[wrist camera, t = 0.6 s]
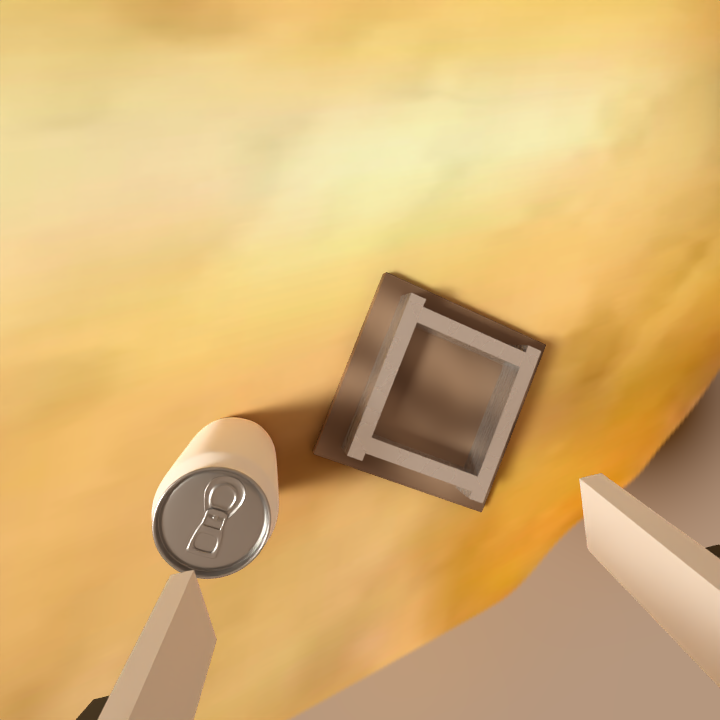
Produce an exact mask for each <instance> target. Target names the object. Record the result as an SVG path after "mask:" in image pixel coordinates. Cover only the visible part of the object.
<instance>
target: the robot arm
mask: <svg viewBox="0 0 720 720" xmlns="http://www.w3.org/2000/svg"><path fill="white" fill-rule="evenodd" d="M580 487H581V496H582V505H583V514H584V523H585V532H586V541H587V549H588V550H589V552H590V553H591V554H592V555H593V556H594V557H595V558H596V559H597V560H598V561H599V562H600V563H601V564H602V565H603V566H604V567H605V568H606V569H607V570H608V571H609V572H610V574H611V575H612V576H613V577H614V578H615V579H616V580H617V581H618V582H619V583H620V584H621V585H622V586H623V587H624V588H625V589H626V590H627V591H628V592H629V593H630V594H631V595H632V596H633V598H634V599H635V600H637V602H638V603H639V604H640V605H641V606H642V607H643V608H644V609H645V610H646V611H647V612H648V613H649V614H650V615H651V616H652V617H653V619H655V621H656V622H657V623H658V624H659V625H660V626H661V627H662V628H663V629H664V630H665V631H666V632H667V633H668V634H669V635H670V636H671V637H672V638H673V639H674V640H675V641H676V643H677V644H679V646H680V647H681V648H682V649H683V650H684V651H685V652H686V653H687V654H688V655H689V656H690V657H691V658H692V659H693V660H694V662H696V663H697V665H698V666H699V667H700V668H701V669H702V670H703V671H704V672H705V673H706V674H707V675H708V676H709V677H710V678H711V679H712V680H713V681H714V682H715V683H716V685H717V686H719V688H720V545H715V546H711V547H707V548H704V547H703V546H701V545H700V544H699V543H697V542H696V541H694V540H693V539H692V538H690V537H689V536H688V535H686V534H685V533H683V532H682V531H680V530H679V529H678V528H676V527H675V526H674V525H672V524H671V523H669V522H668V521H667V520H665V519H664V518H663V517H661V516H660V515H658V514H657V513H655V512H654V511H653V510H651V509H650V508H649V507H647V506H646V505H644V504H643V503H642V502H640V501H639V500H638V499H636V498H635V497H633V496H632V495H631V494H629V493H628V492H627V491H625V490H624V489H622V488H621V487H620V486H618V485H617V484H615V483H614V482H613V481H611V480H610V479H609V478H607V477H606V476H604V475H603V474H602V473H600V474H596V475H592V476H587V477H583V478H580ZM216 640H217V639H216V636H215V633H214V630H213V627H212V624H211V621H210V617H209V614H208V611H207V608H206V605H205V602H204V599H203V596H202V593H201V590H200V587H199V584H198V581H197V578H196V575H195V572H194V570H190V571H186V572H182V573H177V574H173V575H170V577H169V579H168V581H167V583H166V585H165V587H164V589H163V591H162V593H161V595H160V597H159V599H158V601H157V603H156V605H155V607H154V609H153V611H152V613H151V615H150V617H149V619H148V621H147V623H146V625H145V627H144V629H143V631H142V633H141V635H140V636H139V638H138V640H137V642H136V644H135V646H134V648H133V650H132V652H131V654H130V656H129V658H128V660H127V662H126V664H125V666H124V668H123V670H122V672H121V674H120V676H119V678H118V680H117V682H116V684H115V686H114V688H113V690H112V692H111V694H110V696H106V697H102V698H98V699H94V700H93V701H92V702H91V703H90V704H89V705H88V706H87V708H86V709H85V710H84V711H83V712H82V713H81V714H80V716H79V717H78V718H77V719H76V720H194V716H195V713H196V709H197V706H198V703H199V699H200V696H201V692H202V689H203V685H204V682H205V678H206V675H207V671H208V668H209V665H210V661H211V658H212V654H213V651H214V647H215V644H216Z"/></svg>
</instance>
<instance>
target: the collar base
mask: <svg viewBox="0 0 720 720" xmlns="http://www.w3.org/2000/svg"><path fill="white" fill-rule="evenodd" d="M409 293H413V294H416V295H418V296H420V297H422V298H424V299H426V301H425V303H424V306H423V307H425V308H427V309H429V310H431V311H433V312H436V313H438V314H440V315H442V316H445V317H447V318H449V319H451V320H454V321H456V322H458V323H460V324H463V325H465V326H467V327H469V328H472V329H474V330H476V331H478V332H481V333H483V334H485V335H487V336H490V337H492V338H494V339H496V340H499V341H501V342H503V343H505V344H508V345H510V346H511V345H529V346H531V347H533V348H536V349H538V350H540V351H541V353H540V356H539V358H538V361H537V364H536V366H535V369H534V371H533V374H532V377H531V379H530V382H529V384H528V387H527V390H526V392H525V395H524V397H523V400H522V402H521V405H520V408H519V410H518V413H517V415H516V418H515V421H514V423H513V426H512V428H511V431H510V434H509V436H508V439H507V441H506V444H505V447H504V449H503V452H502V454H501V457H500V460H499V462H498V465H497V467H496V470H495V473H494V475H493V478H492V480H491V483H490V486H489V488H488V491H487V493H486V496H485V499H484V501H483V503H480V502H477V501H474V500H472V499H469V498H468V497H467V496H465V495H464V494H463V493H462V492H460V491H459V490H458V489H457V488H456V485H453V484H450V483H447V482H445V481H442V480H439V479H436V478H433V477H431V476H428V475H425V474H422V473H419V472H417V471H414V470H411V469H408V468H405V467H403V466H400V465H397V464H394V463H391V462H389V461H386V460H383V459H380V458H377V457H375V456H372V455H369V454H366V453H365V455H364V458H363V460H362V461H361V460H358V459H355V458H352V457H350V456H347V455H346V453H345V452H344V450H343V449H342V445H343V442H344V439H345V437H346V434H347V432H348V429H349V427H350V424H351V422H352V419H353V417H354V414H355V412H356V409H357V407H358V404H359V402H360V399H361V397H362V394H363V391H364V389H365V386H366V384H367V381H368V379H369V376H370V374H371V371H372V369H373V366H374V364H375V361H376V359H377V356H378V354H379V351H380V349H381V346H382V343H383V341H384V338H385V336H386V333H387V331H388V328H389V326H390V323H391V321H392V318H393V316H394V313H395V311H396V308H397V306H398V303H399V301H400V298H401V296H402V295H406V294H409ZM545 346H546V345H545V344H543V343H541V342H539V341H537V340H534V339H532V338H530V337H528V336H526V335H523V334H521V333H519V332H517V331H515V330H512V329H510V328H508V327H506V326H504V325H501V324H499V323H497V322H495V321H493V320H490V319H488V318H486V317H484V316H482V315H479V314H477V313H475V312H473V311H471V310H468V309H466V308H464V307H462V306H460V305H457V304H455V303H453V302H451V301H449V300H446V299H444V298H442V297H440V296H438V295H435V294H433V293H431V292H429V291H427V290H424V289H422V288H420V287H418V286H416V285H413V284H411V283H409V282H407V281H405V280H402V279H400V278H398V277H396V276H394V275H391V274H389V273H387V272H386V273H384V274H383V275H382V278H381V280H380V283H379V285H378V288H377V290H376V293H375V295H374V298H373V301H372V303H371V306H370V308H369V311H368V313H367V316H366V318H365V321H364V323H363V326H362V328H361V331H360V333H359V336H358V338H357V341H356V343H355V346H354V348H353V351H352V353H351V356H350V358H349V361H348V363H347V366H346V368H345V371H344V373H343V376H342V378H341V381H340V383H339V386H338V389H337V391H336V394H335V396H334V399H333V401H332V404H331V406H330V409H329V411H328V414H327V416H326V419H325V421H324V424H323V426H322V429H321V431H320V434H319V436H318V439H317V441H316V444H315V446H314V449H313V453H314V454H315V455H318V456H321V457H324V458H327V459H329V460H332V461H335V462H338V463H341V464H344V465H347V466H350V467H352V468H355V469H358V470H361V471H364V472H367V473H370V474H373V475H375V476H378V477H381V478H384V479H387V480H390V481H393V482H396V483H399V484H401V485H404V486H407V487H410V488H413V489H416V490H419V491H422V492H424V493H427V494H430V495H433V496H436V497H439V498H442V499H445V500H447V501H450V502H453V503H456V504H459V505H462V506H465V507H468V508H470V509H473V510H476V511H479V512H482V510H483V508H484V505H485V502H486V500H487V497H488V495H489V492H490V489H491V487H492V484H493V482H494V479H495V476H496V474H497V471H498V469H499V466H500V463H501V461H502V458H503V456H504V453H505V450H506V448H507V445H508V443H509V440H510V437H511V435H512V432H513V430H514V427H515V424H516V422H517V419H518V417H519V414H520V411H521V409H522V406H523V404H524V401H525V398H526V396H527V393H528V391H529V388H530V385H531V383H532V380H533V378H534V375H535V372H536V370H537V367H538V365H539V362H540V359H541V357H542V354H543V352H544V349H545ZM502 367H503V365H502V364H500V363H497V362H495V361H493V360H490V359H488V358H486V357H484V356H481V355H479V354H477V353H474V352H472V351H470V350H467V349H465V348H463V347H460V346H458V345H456V344H453V343H451V342H449V341H447V340H444V339H442V338H440V337H437V336H435V335H433V334H430V333H428V332H426V331H423V330H421V329H419V328H417V327H415V328H414V331H413V334H412V336H411V339H410V341H409V344H408V346H407V349H406V351H405V354H404V356H403V359H402V361H401V364H400V367H399V369H398V372H397V374H396V377H395V379H394V382H393V384H392V387H391V389H390V392H389V394H388V397H387V400H386V402H385V405H384V407H383V410H382V412H381V415H380V417H379V420H378V422H377V425H376V427H375V430H374V432H373V434H375V435H378V436H380V437H383V438H386V439H389V440H391V441H394V442H397V443H399V444H402V445H405V446H408V447H410V448H413V449H416V450H418V451H421V452H424V453H427V454H429V455H432V456H435V457H437V458H440V459H443V460H446V461H448V462H451V463H454V464H456V465H459V466H462V467H464V465H465V463H466V460H467V457H468V455H469V452H470V450H471V447H472V444H473V442H474V439H475V437H476V434H477V432H478V429H479V426H480V424H481V421H482V419H483V416H484V413H485V411H486V408H487V406H488V403H489V401H490V398H491V395H492V393H493V390H494V388H495V385H496V382H497V380H498V377H499V375H500V372H501V370H502Z"/></svg>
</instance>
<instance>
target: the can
mask: <svg viewBox="0 0 720 720" xmlns="http://www.w3.org/2000/svg"><path fill="white" fill-rule="evenodd" d="M278 510H279V493H278V474H277V459H276V451H275V447H274V444H273V442H272V439H271V438H270V436H269V435H268V433H267V432H266V431H265V430H264V429H263V428H262V427H261V426H260V425H259V424H257V423H255V422H253V421H251V420H248V419H243V418H237V417H228V418H222V419H219V420H216V421H214V422H212V423H210V424H208V425H207V426H205V427H204V428H203V429H201V430H200V431H199V432H198V433H197V435H196V436H195V437H194V438H193V439H192V441H191V442H190V443H189V445H188V446H187V447H186V449H185V450H184V451H183V452H182V454H181V455H180V456H179V458H178V459H177V460H176V462H175V463H174V465H173V466H172V467H171V469H170V470H169V471H168V473H167V474H166V476H165V477H164V479H163V480H162V482H161V484H160V485H159V487H158V489H157V492H156V495H155V497H154V501H153V506H152V533H153V539H154V542H155V545H156V547H157V550H158V551H159V553H160V555H161V556H162V557H163V559H164V560H165V561H166V562H167V563H168V564H169V565H170V566H171V567H173V568H174V569H175V570H177V571H179V572H181V573H182V572H186V571H190V570H194V572H195V575H196V578H202V579H213V578H220V577H224V576H228V575H230V574H233V573H235V572H237V571H239V570H241V569H243V568H244V567H245V566H247V565H248V564H249V563H251V562H252V561H253V560H254V559H255V558H256V557H257V555H258V554H259V553H260V551H261V550H262V548H263V547H264V545H265V544H266V542H267V541H268V539H269V538H270V536H271V534H272V532H273V530H274V528H275V525H276V521H277V517H278Z"/></svg>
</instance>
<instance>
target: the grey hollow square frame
mask: <svg viewBox="0 0 720 720" xmlns="http://www.w3.org/2000/svg"><path fill="white" fill-rule="evenodd" d="M425 301H426V299H424V298H422V297H420V296H418V295H416V294H413V293H409V294H406V295H402V296H401V298H400V301H399V303H398V306H397V308H396V311H395V313H394V316H393V318H392V321H391V323H390V326H389V328H388V331H387V333H386V336H385V338H384V341H383V343H382V346H381V349H380V351H379V354H378V356H377V359H376V361H375V364H374V366H373V369H372V371H371V374H370V376H369V379H368V381H367V384H366V386H365V389H364V391H363V394H362V397H361V399H360V402H359V404H358V407H357V409H356V412H355V414H354V417H353V419H352V422H351V424H350V427H349V429H348V432H347V434H346V437H345V439H344V442H343V445H342V449H343V450H344V452H345V453H346V455H347V456H350V457H352V458H355V459H358V460H361V461H362V460H363V458H364V455H365V453H366V454H369V455H372V456H375V457H377V458H380V459H383V460H386V461H389V462H391V463H394V464H397V465H400V466H403V467H405V468H408V469H411V470H414V471H417V472H419V473H422V474H425V475H428V476H431V477H433V478H436V479H439V480H442V481H445V482H447V483H450V484H453V485H456V488H457V489H458V490H459V491H460V492H462V493H463V494H464V495H465V496H467V497H468V498H469V499H472V500H474V501H477V502H480V503H483V501H484V499H485V496H486V493H487V491H488V488H489V486H490V483H491V480H492V478H493V475H494V473H495V470H496V467H497V465H498V462H499V460H500V457H501V454H502V452H503V449H504V447H505V444H506V441H507V439H508V436H509V434H510V431H511V428H512V426H513V423H514V421H515V418H516V415H517V413H518V410H519V408H520V405H521V402H522V400H523V397H524V395H525V392H526V390H527V387H528V384H529V382H530V379H531V377H532V374H533V371H534V369H535V366H536V364H537V361H538V358H539V356H540V353H541V351H540V350H538V349H536V348H533V347H531V346H529V345H511V346H510V345H508V344H505V343H503V342H501V341H499V340H496V339H494V338H492V337H490V336H487V335H485V334H483V333H481V332H478V331H476V330H474V329H472V328H469V327H467V326H465V325H463V324H460V323H458V322H456V321H454V320H451V319H449V318H447V317H445V316H442V315H440V314H438V313H436V312H433V311H431V310H429V309H427V308H425V307H423V306H424V303H425ZM415 327H417V328H419V329H421V330H423V331H426V332H428V333H430V334H433V335H435V336H437V337H440V338H442V339H444V340H447V341H449V342H451V343H453V344H456V345H458V346H460V347H463V348H465V349H467V350H470V351H472V352H474V353H477V354H479V355H481V356H484V357H486V358H488V359H490V360H493V361H495V362H497V363H500V364H502V365H503V367H502V370H501V372H500V375H499V377H498V380H497V382H496V385H495V388H494V390H493V393H492V395H491V398H490V401H489V403H488V406H487V408H486V411H485V413H484V416H483V419H482V421H481V424H480V426H479V429H478V432H477V434H476V437H475V439H474V442H473V444H472V447H471V450H470V452H469V455H468V457H467V460H466V463H465V465H464V467H462V466H459V465H456V464H454V463H451V462H448V461H446V460H443V459H440V458H437V457H435V456H432V455H429V454H427V453H424V452H421V451H418V450H416V449H413V448H410V447H408V446H405V445H402V444H399V443H397V442H394V441H391V440H389V439H386V438H383V437H380V436H378V435H375V434H373V432H374V430H375V427H376V425H377V422H378V420H379V417H380V415H381V412H382V410H383V407H384V405H385V402H386V400H387V397H388V394H389V392H390V389H391V387H392V384H393V382H394V379H395V377H396V374H397V372H398V369H399V367H400V364H401V361H402V359H403V356H404V354H405V351H406V349H407V346H408V344H409V341H410V339H411V336H412V334H413V331H414V328H415Z"/></svg>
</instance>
